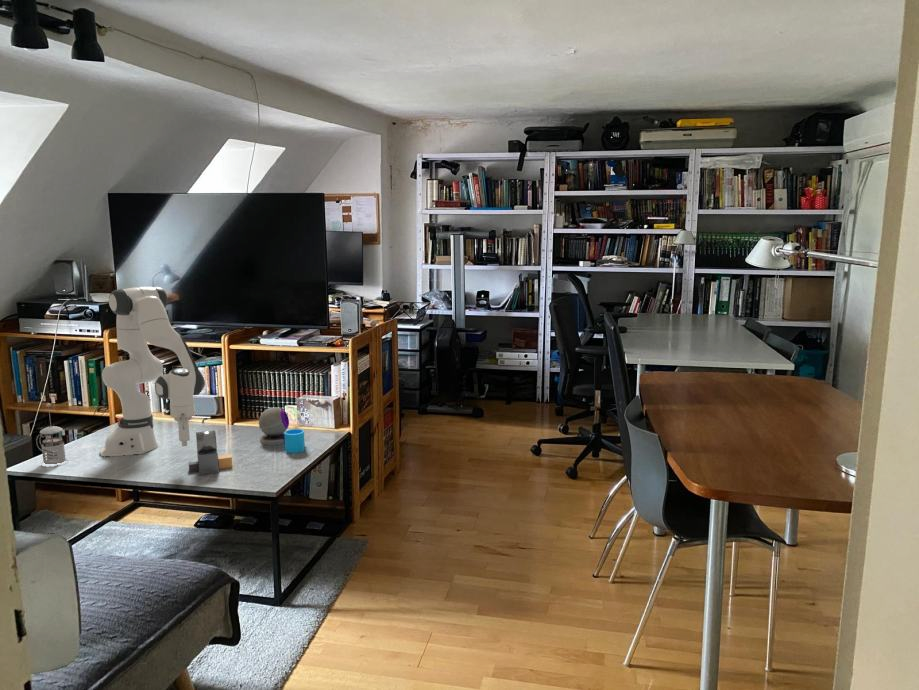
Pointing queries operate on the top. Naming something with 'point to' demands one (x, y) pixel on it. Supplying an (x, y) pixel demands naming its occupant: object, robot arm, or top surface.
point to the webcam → (273, 426)
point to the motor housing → (207, 452)
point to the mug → (294, 441)
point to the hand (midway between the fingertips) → (184, 445)
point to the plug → (223, 462)
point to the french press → (56, 452)
